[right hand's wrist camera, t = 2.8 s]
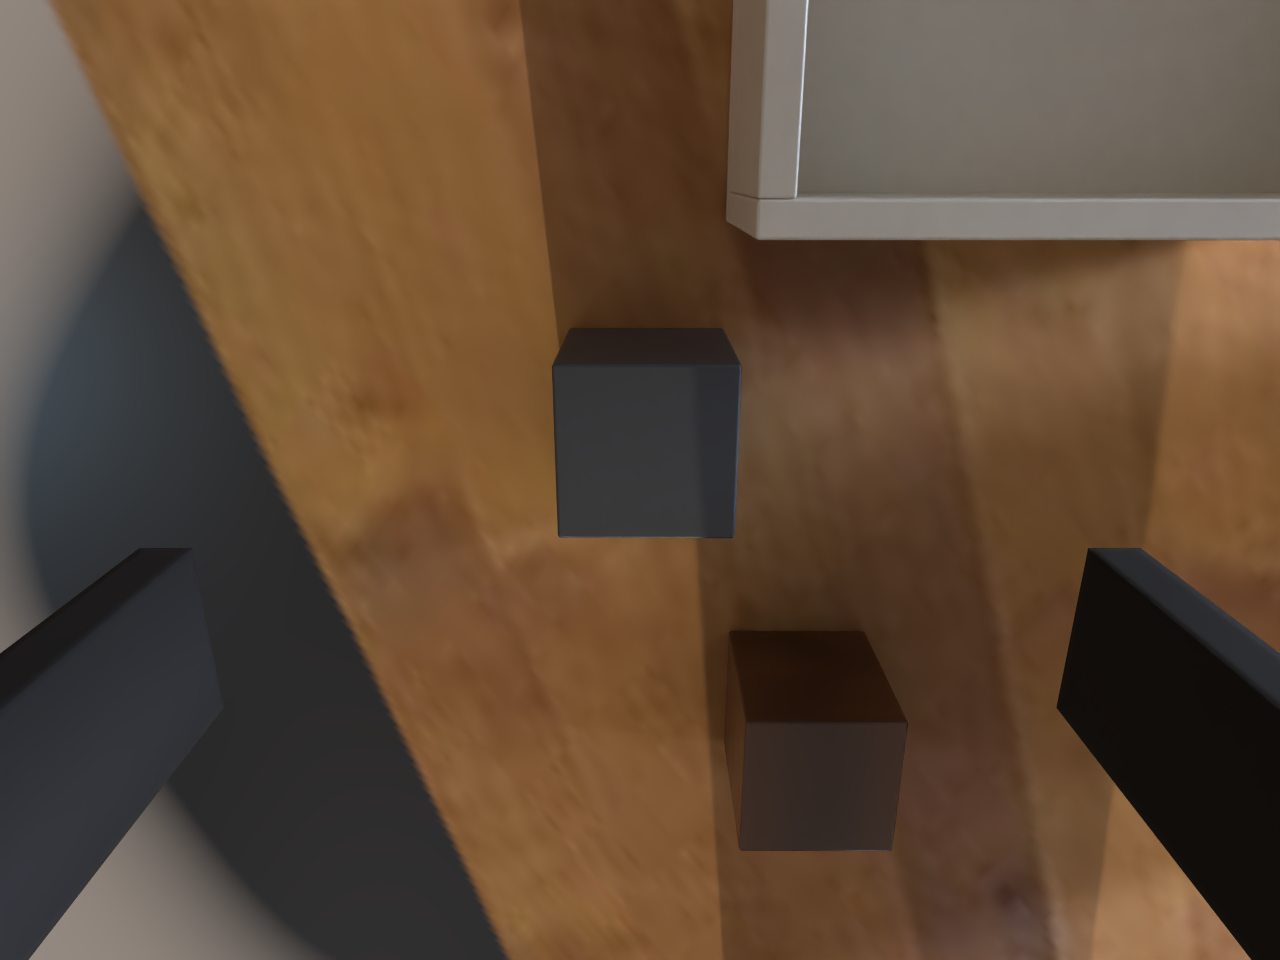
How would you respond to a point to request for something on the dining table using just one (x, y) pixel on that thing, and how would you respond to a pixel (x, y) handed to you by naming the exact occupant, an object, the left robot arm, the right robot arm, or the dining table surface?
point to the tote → (1005, 120)
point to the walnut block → (812, 742)
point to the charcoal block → (646, 433)
